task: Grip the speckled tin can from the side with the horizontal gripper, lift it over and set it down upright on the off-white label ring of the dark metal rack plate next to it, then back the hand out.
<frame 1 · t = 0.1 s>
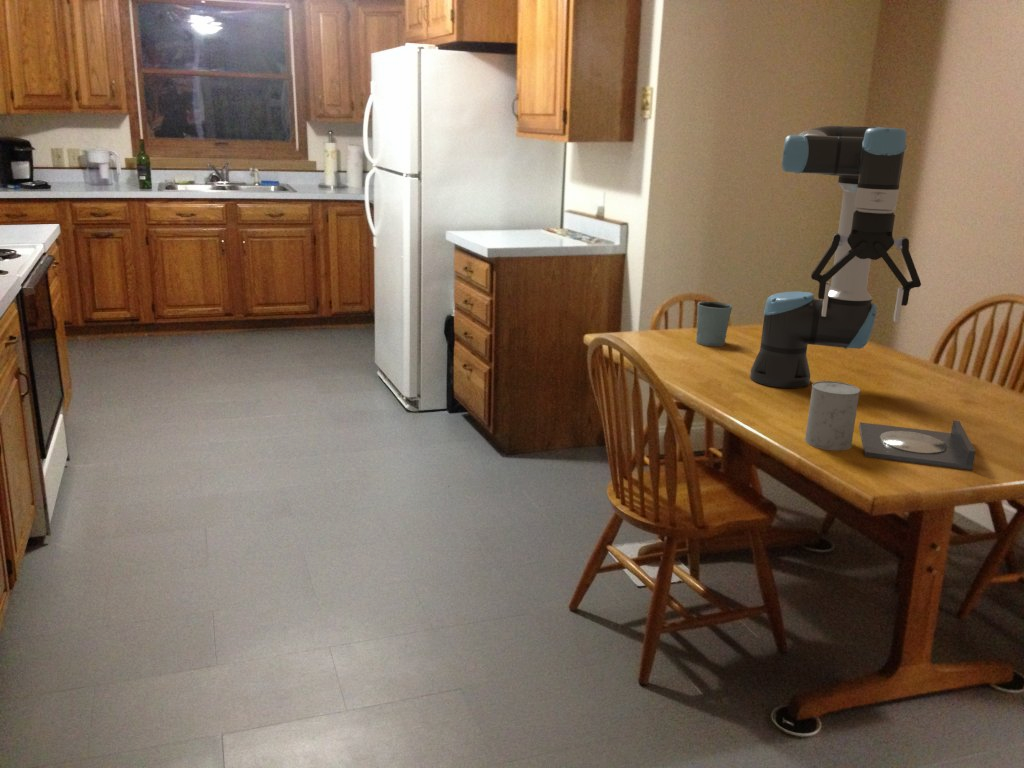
hand: (859, 318, 178), 28 cm above the table, tool pointing down, fingers open, 13 cm apart
blue grey cup: (711, 343, 273), on the table
speckled tin can: (827, 443, 189), on the table
rack plate: (912, 447, 188), on the table
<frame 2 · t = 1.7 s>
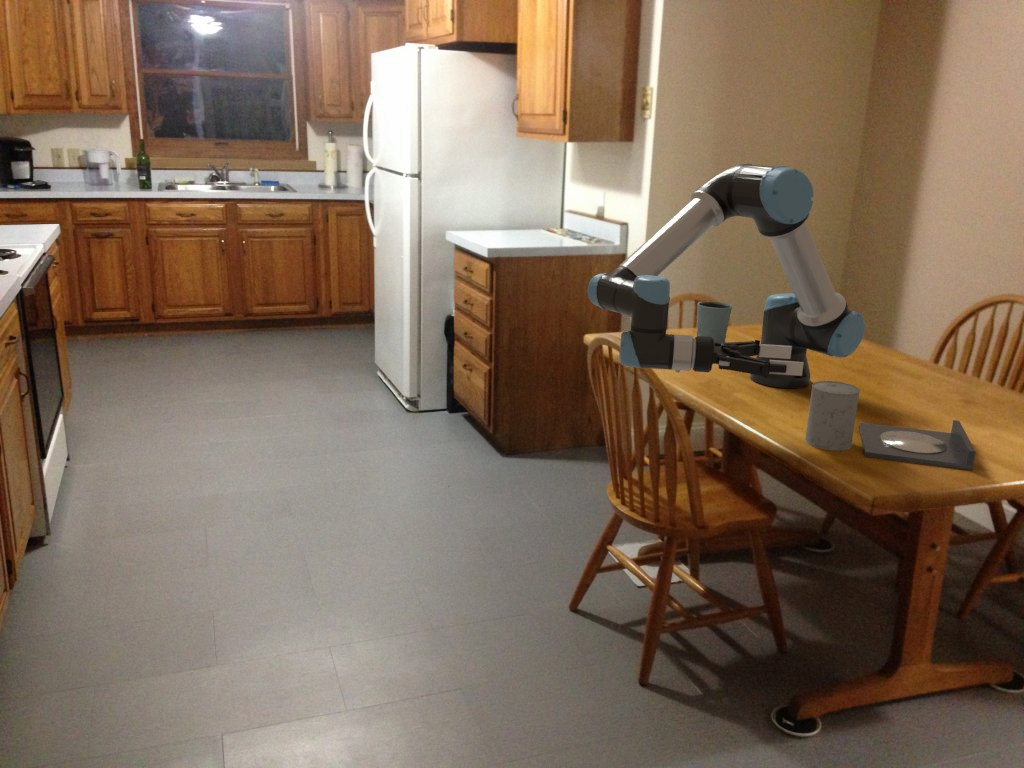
hand: (796, 360, 185), 18 cm above the table, tool horizontal, fingers open, 13 cm apart
nothing on the table moved.
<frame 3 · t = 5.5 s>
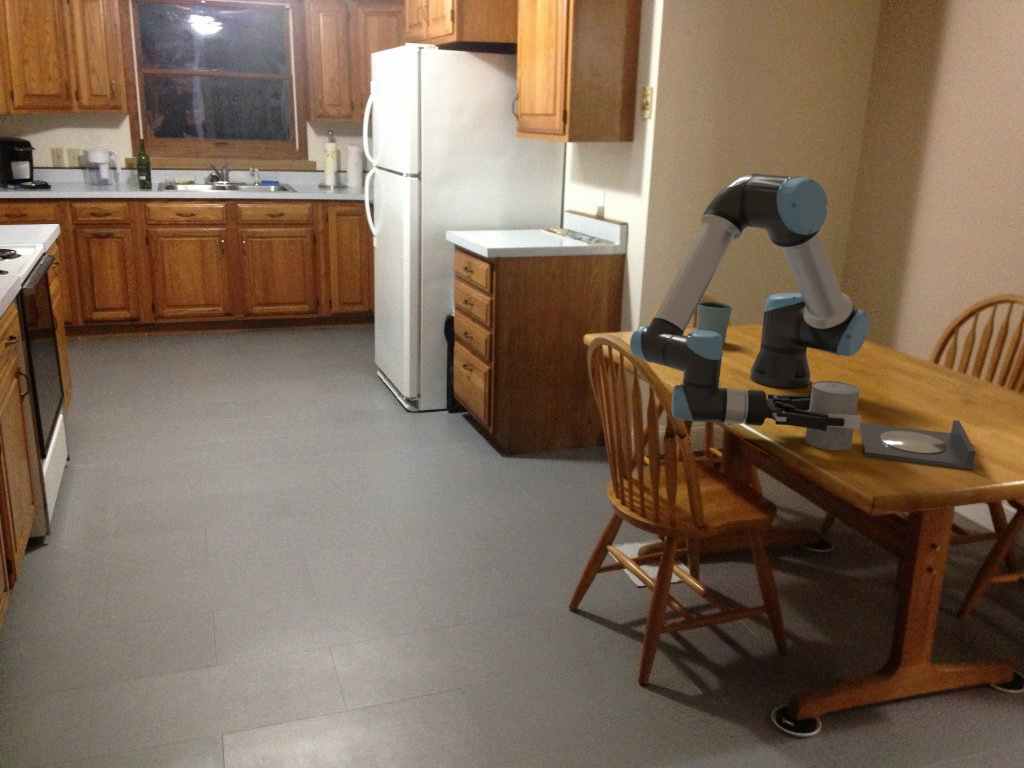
hand: (853, 414, 187), 7 cm above the table, tool horizontal, fingers closed on speckled tin can, 9 cm apart
speckled tin can: (827, 443, 189), on the table, touching gripper
everything else where it was.
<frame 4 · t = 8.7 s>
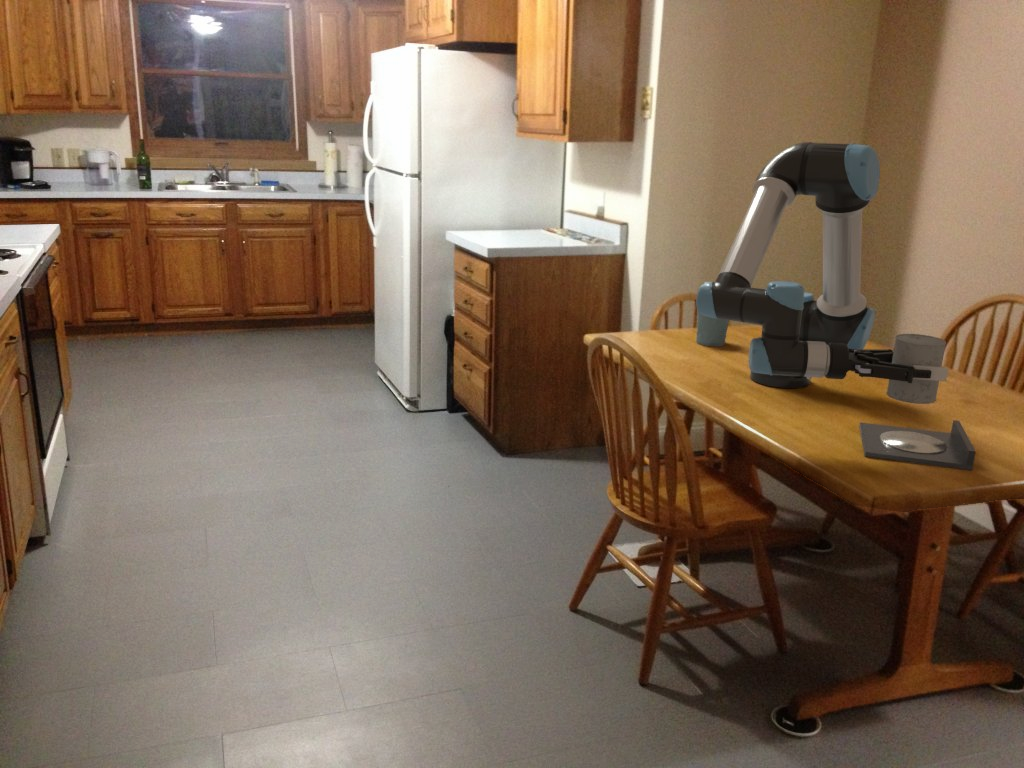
hand: (938, 367, 182), 18 cm above the table, tool horizontal, fingers closed on speckled tin can, 9 cm apart
speckled tin can: (910, 397, 185), point 11 cm above the table, touching gripper
everything else where it was.
when the fingers open (9 cm above the table, at t = 12.1 s): speckled tin can stays where it is, resting on rack plate.
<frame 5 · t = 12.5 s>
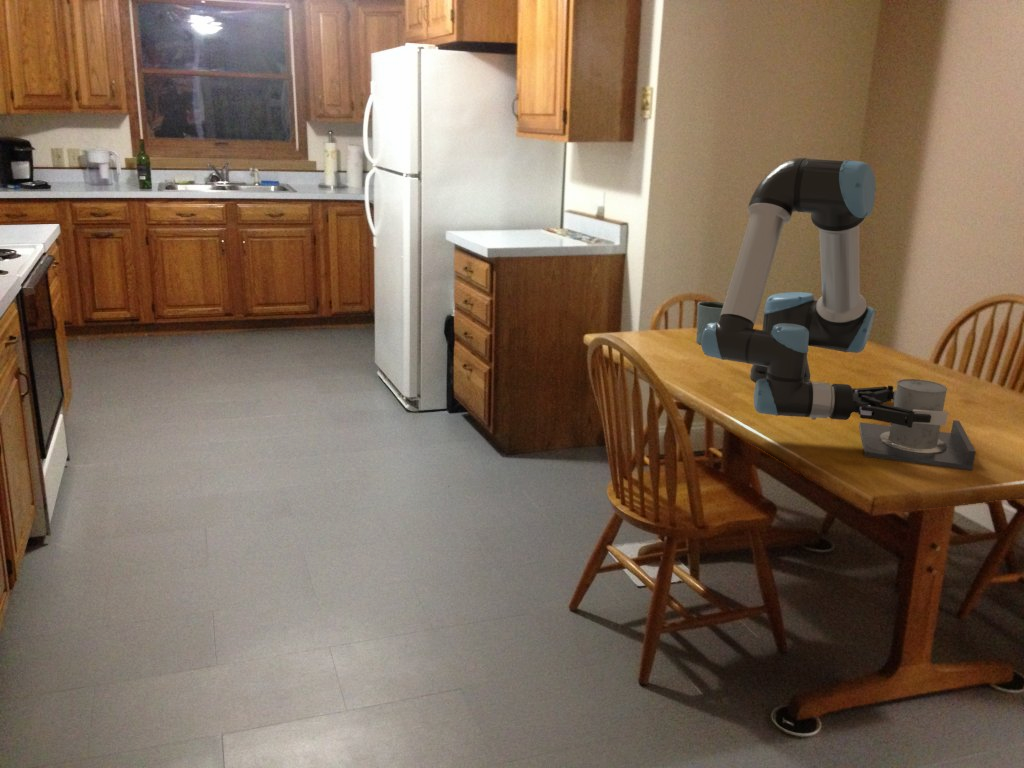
hand: (935, 408, 185), 9 cm above the table, tool horizontal, fingers open, 13 cm apart
speckled tin can: (912, 442, 188), point 1 cm above the table, touching rack plate
everything else where it was.
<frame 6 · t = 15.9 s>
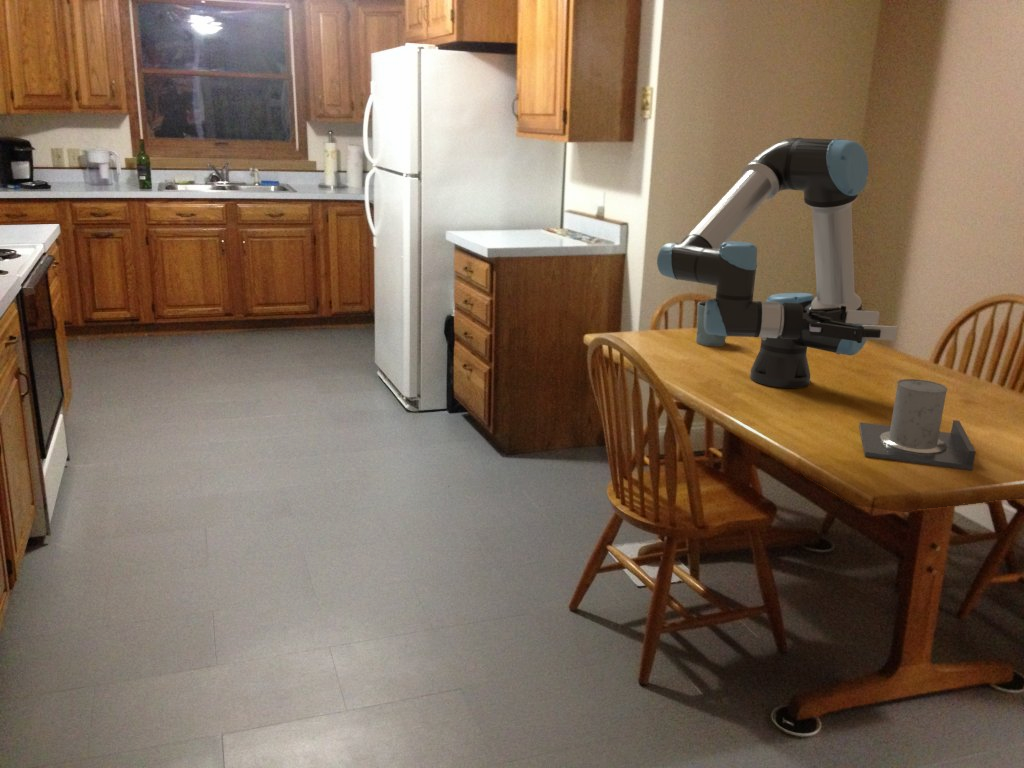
hand: (887, 325, 182), 26 cm above the table, tool horizontal, fingers open, 13 cm apart
nothing on the table moved.
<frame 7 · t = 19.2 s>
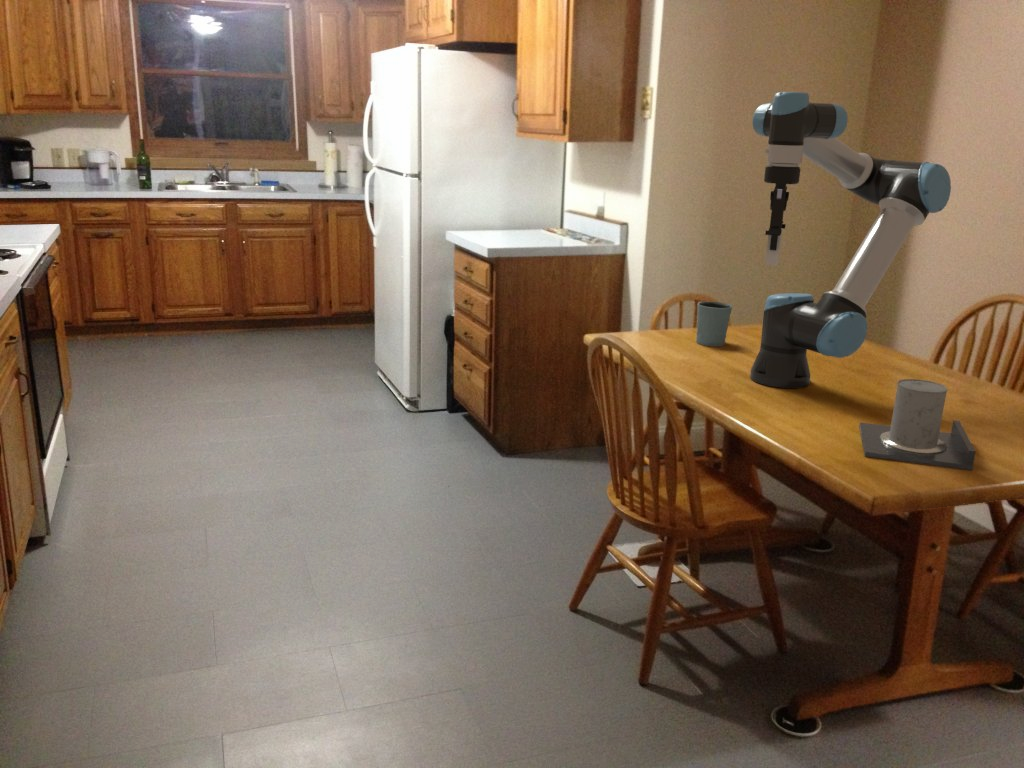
hand: (772, 260, 203), 35 cm above the table, tool pointing down, fingers open, 13 cm apart
nothing on the table moved.
at the end: speckled tin can inside the target area on the rack plate (0.1 cm from its centre), point 1.1 cm above the rack plate's base; speckled tin can tilted 0°; the gripper is holding nothing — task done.
